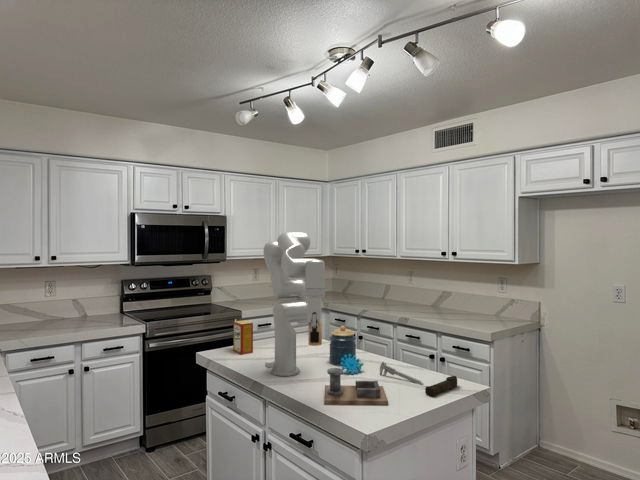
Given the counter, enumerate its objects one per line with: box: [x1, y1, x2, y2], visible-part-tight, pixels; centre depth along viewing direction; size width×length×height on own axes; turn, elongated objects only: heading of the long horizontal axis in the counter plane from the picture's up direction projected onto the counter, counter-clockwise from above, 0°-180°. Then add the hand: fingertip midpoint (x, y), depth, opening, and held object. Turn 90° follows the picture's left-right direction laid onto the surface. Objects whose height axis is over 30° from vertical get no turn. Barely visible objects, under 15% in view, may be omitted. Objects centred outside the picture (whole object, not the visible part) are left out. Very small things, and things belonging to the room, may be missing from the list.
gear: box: [339, 354, 365, 375], centre depth 198 cm, size 11×6×10 cm
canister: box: [328, 325, 357, 366], centre depth 213 cm, size 13×13×18 cm
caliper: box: [379, 361, 424, 386], centre depth 187 cm, size 20×1×6 cm, turn 52°
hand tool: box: [424, 375, 458, 398], centre depth 173 cm, size 19×4×5 cm, turn 128°
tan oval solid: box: [307, 321, 323, 347], centre depth 166 cm, size 5×5×8 cm
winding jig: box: [323, 367, 389, 406], centre depth 167 cm, size 23×16×10 cm
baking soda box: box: [232, 319, 254, 356], centre depth 231 cm, size 10×6×16 cm
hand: (315, 340), depth 166 cm, fingers closed on tan oval solid, 4 cm apart
